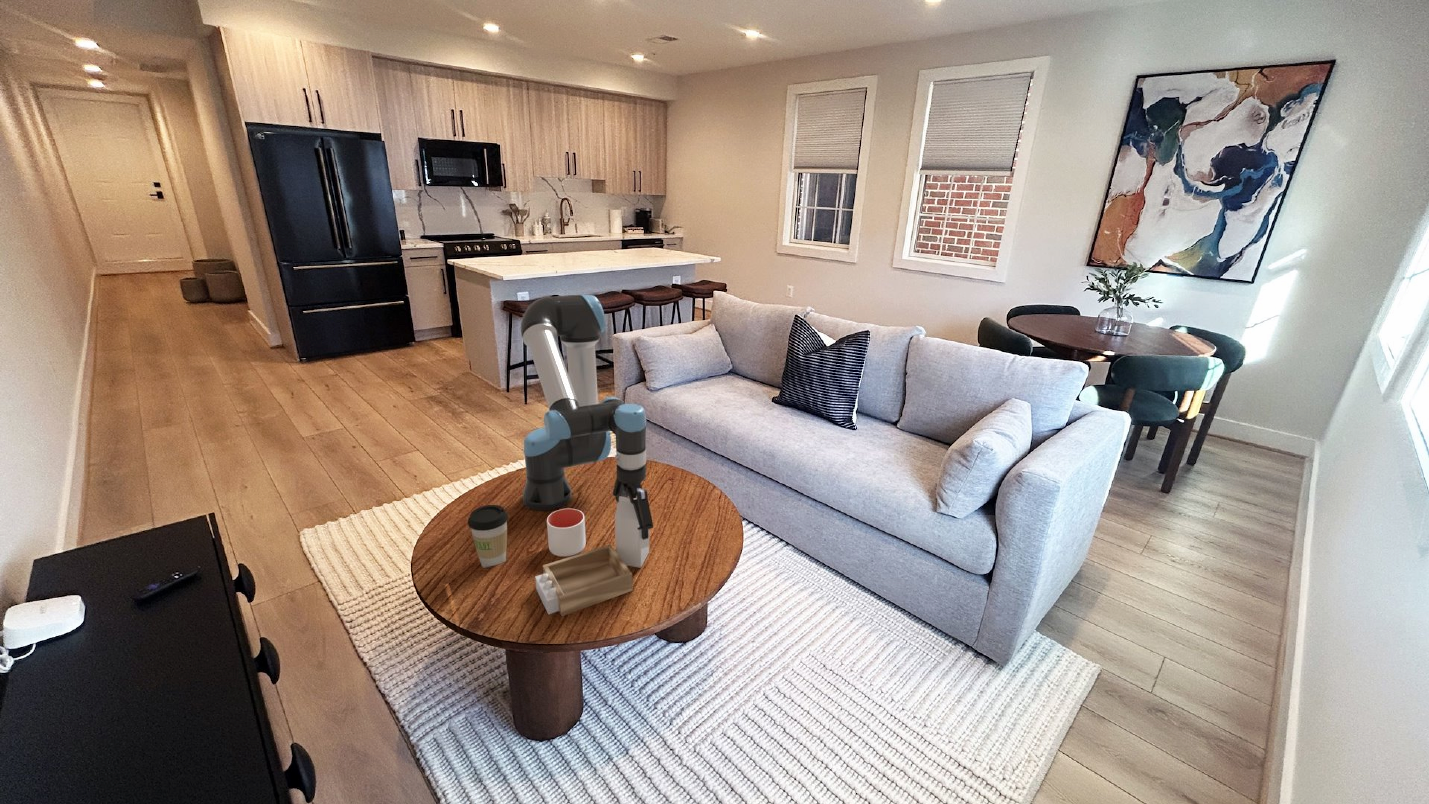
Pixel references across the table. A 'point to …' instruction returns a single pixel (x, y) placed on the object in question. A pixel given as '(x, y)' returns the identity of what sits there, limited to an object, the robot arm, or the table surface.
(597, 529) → the table surface
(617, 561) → the crate
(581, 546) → the cup
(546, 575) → the egg box
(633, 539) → the milk carton
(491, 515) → the coffee cup
